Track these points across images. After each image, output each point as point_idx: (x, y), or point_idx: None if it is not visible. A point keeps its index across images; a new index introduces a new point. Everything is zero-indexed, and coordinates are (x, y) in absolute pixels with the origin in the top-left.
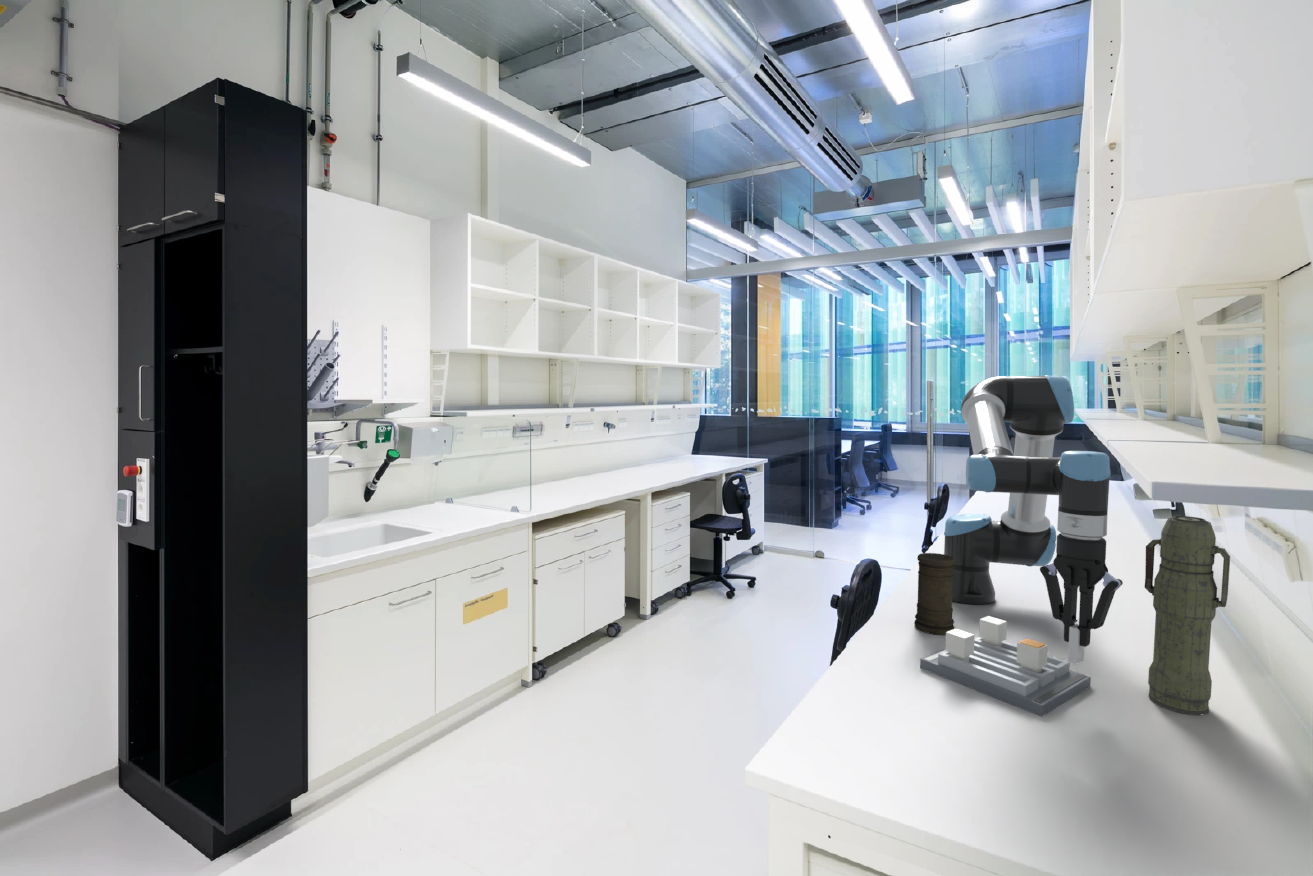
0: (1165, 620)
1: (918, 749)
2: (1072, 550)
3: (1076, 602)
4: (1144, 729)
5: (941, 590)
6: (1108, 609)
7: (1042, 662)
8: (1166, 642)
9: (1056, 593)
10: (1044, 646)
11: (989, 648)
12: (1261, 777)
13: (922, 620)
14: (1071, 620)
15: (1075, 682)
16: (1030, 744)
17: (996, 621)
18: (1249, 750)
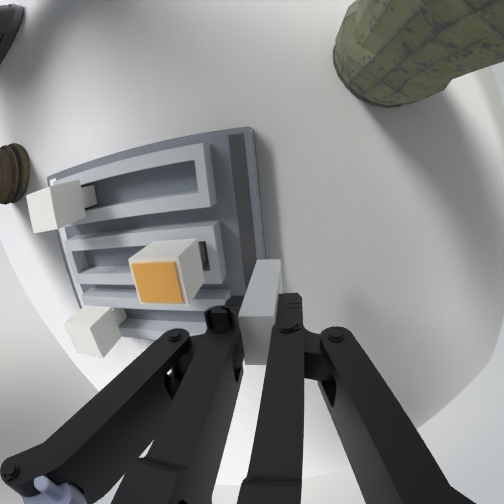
0: (472, 32)
1: (243, 447)
2: None
3: (215, 399)
4: (389, 232)
5: None
6: (390, 395)
7: (197, 265)
8: (438, 62)
9: (139, 440)
10: (180, 274)
11: (92, 238)
12: (494, 242)
13: (4, 203)
14: (240, 372)
15: (249, 191)
16: None
17: (45, 212)
18: (483, 170)
